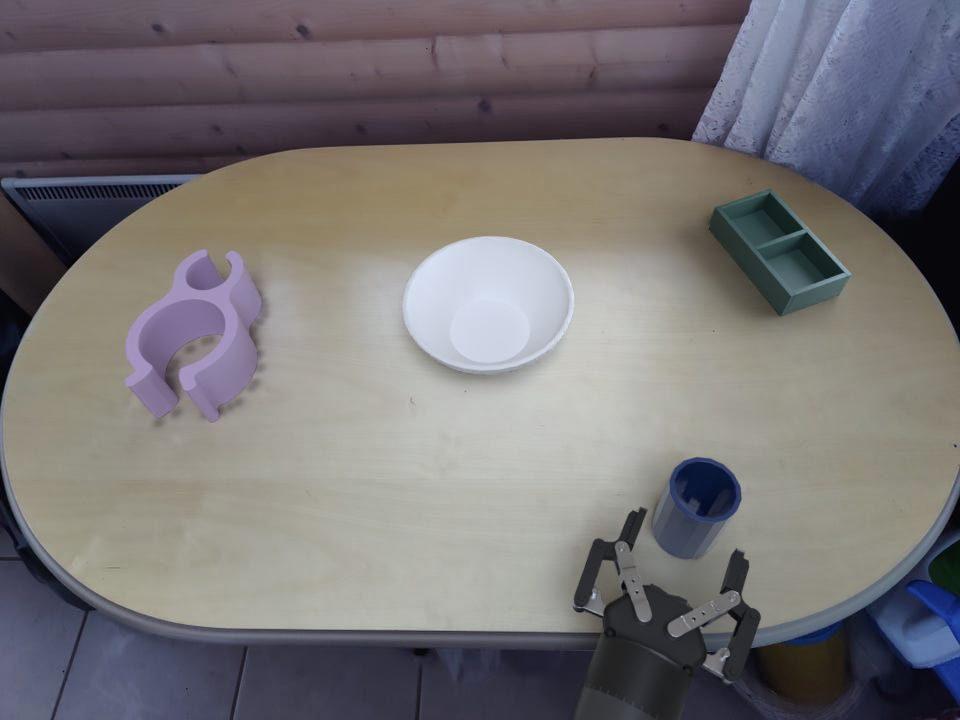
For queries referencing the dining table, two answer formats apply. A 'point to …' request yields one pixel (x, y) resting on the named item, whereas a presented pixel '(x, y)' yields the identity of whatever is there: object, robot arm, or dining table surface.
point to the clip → (196, 336)
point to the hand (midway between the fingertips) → (689, 531)
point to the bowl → (488, 304)
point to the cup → (695, 507)
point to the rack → (778, 252)
